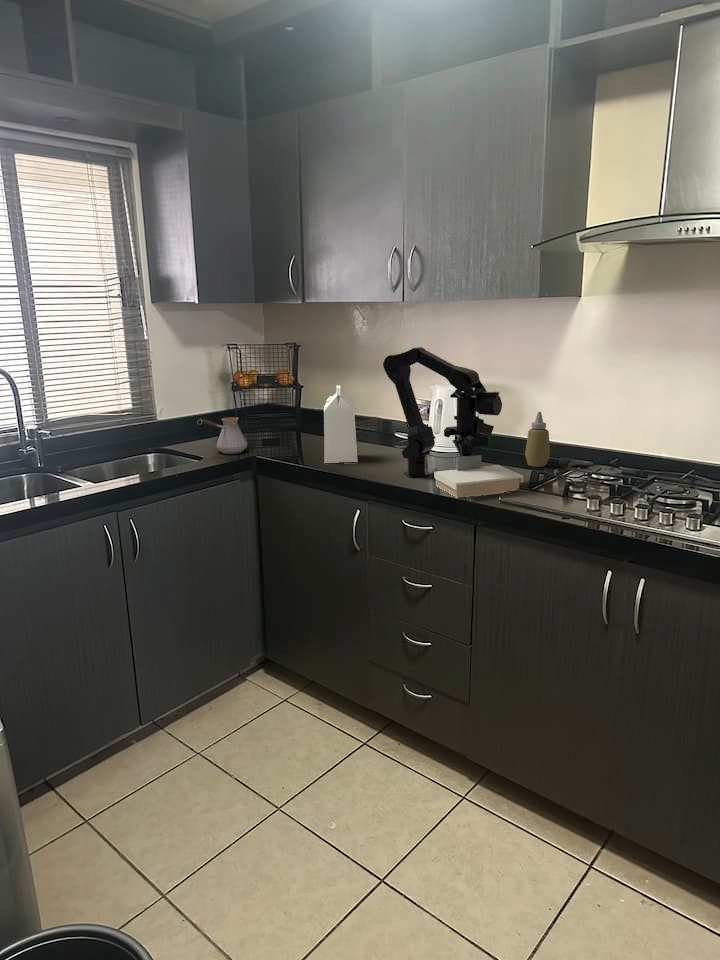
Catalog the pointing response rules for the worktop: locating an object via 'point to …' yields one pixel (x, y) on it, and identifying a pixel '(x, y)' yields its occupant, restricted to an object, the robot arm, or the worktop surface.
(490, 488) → the mailer box
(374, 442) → the worktop surface
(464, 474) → the lid
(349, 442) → the milk
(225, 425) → the coffee pot
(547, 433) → the squeeze bottle
